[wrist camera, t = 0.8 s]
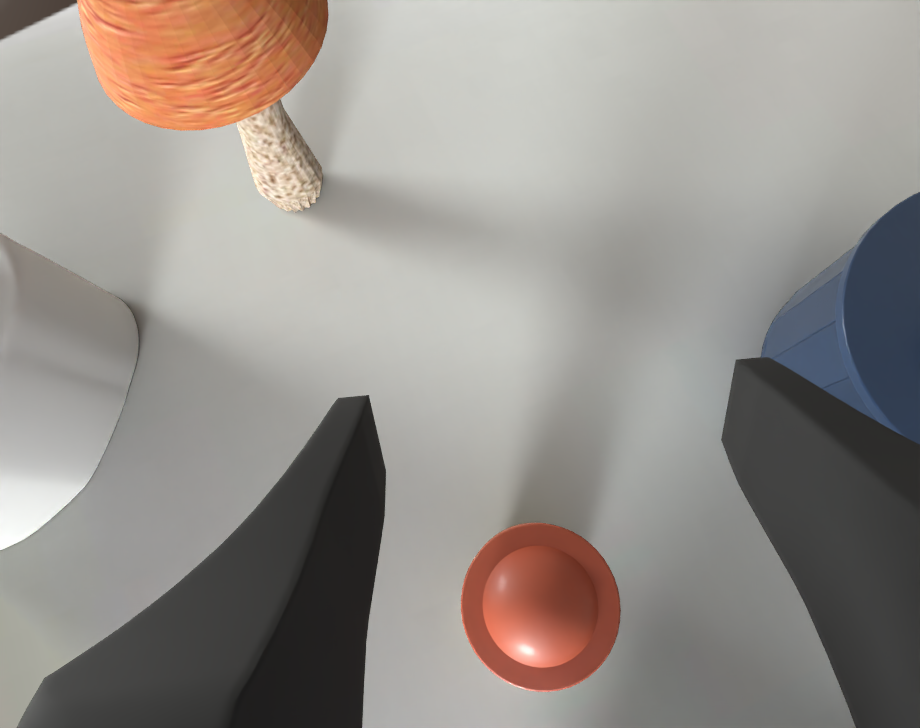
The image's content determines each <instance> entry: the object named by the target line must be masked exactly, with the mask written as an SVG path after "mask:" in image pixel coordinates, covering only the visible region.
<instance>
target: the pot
mask: <svg viewBox="0 0 920 728" xmlns="http://www.w3.org/2000/svg"><path fill="white" fill-rule="evenodd" d="M854 247H855V246H854ZM854 247H853V248H852V249H851V250H849V251H848V252H847V253H845V254H844V255H843V256H842V257H840V258H839V259H838V260H837V261H835V262H834V263H833V264H831V265H830V266H829V267H828V268H826V269H825V270H824V271H823V272H821V273H820V274H819V275H817V276H816V277H815V278H814V279H812V280H811V281H810V282H808V283H807V284H806V285H805V286H803V287H802V288H801V289H800V290H798V291H797V292H796V293H795V294H794V296H793V297H792V298H791V299H790V300H789V301H788V302H787V303H786V305H785V306H784V307H783V308H782V309H781V310H780V311H779V313H778V314H777V316H776V317H775V319H774V320H773V322H772V324H771V326H770V328H769V330H768V332H767V334H766V337H765V341H764V344H763V347H762V354H761V357H769V358H771V359H773V360H775V361H777V362H778V363H780V364H782V365H784V366H785V367H787V368H789V369H790V370H792V371H794V372H795V373H797V374H799V375H800V376H802V377H804V378H805V379H807V380H809V381H810V382H812V383H813V384H815V385H817V386H818V387H820V388H822V389H823V390H825V391H826V392H828V393H830V394H831V395H833V396H835V397H836V398H838V399H840V400H841V401H843V402H845V403H846V404H848V405H850V406H851V407H853V408H855V409H856V410H858V411H860V412H861V413H863V414H865V415H867V416H868V417H870V418H872V419H874V420H875V421H877V419H876V418H875V417H874V416H873V414H872V413H871V412H870V410H869V409H868V408H867V407H866V405H865V404H864V402H863V400H862V399H861V397H860V395H859V394H858V392H857V391H856V389H855V387H854V385H853V383H852V381H851V379H850V377H849V374H848V372H847V370H846V368H845V365H844V362H843V358H842V355H841V352H840V348H839V344H838V338H837V331H836V314H835V306H836V298H837V291H838V286H839V282H840V279H841V275H842V272H843V269H844V266H845V264H846V262H847V260H848V258H849V256H850V254H851V252H852V250H853V249H854ZM877 422H878V421H877Z"/></svg>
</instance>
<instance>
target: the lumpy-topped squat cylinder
mask: <svg viewBox="0 0 920 728" xmlns="http://www.w3.org/2000/svg"><path fill="white" fill-rule="evenodd" d="M138 349H139V335H138V329H137V325H136V321H135V318H134V316H133V314H132V312H131V310H130V309H129V307H128V306H127V305H126V304H125V303H124V302H123V301H122V300H121V299H119V298H118V297H116V296H114V295H112V294H110V293H109V292H107V291H105V290H103V289H101V288H100V287H98V286H96V285H94V284H92V283H91V282H89V281H87V280H85V279H83V278H82V277H80V276H78V275H76V274H74V273H72V272H71V271H69V270H67V269H65V268H63V267H62V266H60V265H58V264H56V263H55V262H53V261H51V260H49V259H47V258H45V257H44V256H42V255H40V254H38V253H36V252H34V251H32V250H30V249H28V248H26V247H24V246H22V245H20V244H19V243H17V242H15V241H14V240H12V239H10V238H9V237H7V236H5V235H3V234H1V233H0V550H2V549H4V548H6V547H9V546H11V545H13V544H15V543H17V542H19V541H21V540H23V539H25V538H27V537H28V536H30V535H31V534H33V533H34V532H35V531H37V530H38V529H39V528H41V527H42V526H43V525H44V524H45V523H47V522H48V521H49V520H50V519H51V518H53V517H54V516H55V515H56V514H57V513H58V512H59V511H60V510H62V509H63V508H64V507H65V506H66V505H67V504H68V503H69V502H70V501H71V500H72V499H73V498H74V497H75V496H76V495H77V494H78V493H79V492H80V491H81V490H82V489H83V488H84V487H85V486H86V484H87V483H88V482H89V480H90V479H91V477H92V475H93V474H94V472H95V470H96V468H97V466H98V464H99V462H100V460H101V458H102V456H103V454H104V452H105V450H106V448H107V445H108V443H109V441H110V439H111V436H112V434H113V432H114V429H115V427H116V424H117V422H118V419H119V417H120V414H121V411H122V409H123V406H124V403H125V400H126V396H127V393H128V389H129V386H130V382H131V379H132V376H133V373H134V370H135V366H136V362H137V357H138Z"/></svg>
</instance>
